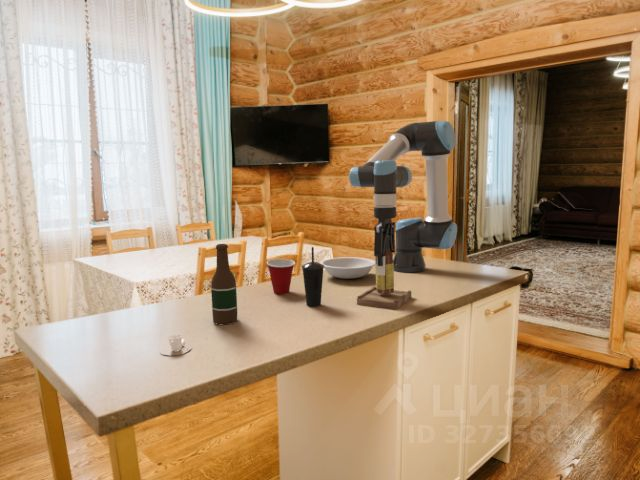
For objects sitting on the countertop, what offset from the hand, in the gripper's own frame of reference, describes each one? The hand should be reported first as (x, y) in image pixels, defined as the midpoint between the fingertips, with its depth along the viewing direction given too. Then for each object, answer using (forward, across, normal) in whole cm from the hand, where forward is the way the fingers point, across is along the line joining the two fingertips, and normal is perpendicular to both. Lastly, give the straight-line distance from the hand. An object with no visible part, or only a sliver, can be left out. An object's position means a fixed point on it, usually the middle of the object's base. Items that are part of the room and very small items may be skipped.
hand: (384, 272), depth 163 cm
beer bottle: (+10, +42, -36) cm, 56 cm away
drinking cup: (+10, +15, -20) cm, 27 cm away
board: (+10, 0, 0) cm, 10 cm away
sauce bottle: (+7, 0, 0) cm, 7 cm away
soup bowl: (+10, -27, -27) cm, 39 cm away
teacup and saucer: (+11, +64, -31) cm, 71 cm away
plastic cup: (+10, +6, -39) cm, 41 cm away
